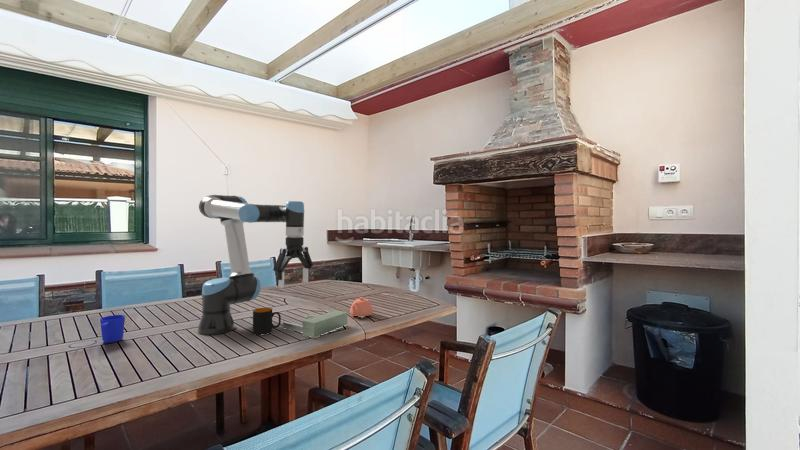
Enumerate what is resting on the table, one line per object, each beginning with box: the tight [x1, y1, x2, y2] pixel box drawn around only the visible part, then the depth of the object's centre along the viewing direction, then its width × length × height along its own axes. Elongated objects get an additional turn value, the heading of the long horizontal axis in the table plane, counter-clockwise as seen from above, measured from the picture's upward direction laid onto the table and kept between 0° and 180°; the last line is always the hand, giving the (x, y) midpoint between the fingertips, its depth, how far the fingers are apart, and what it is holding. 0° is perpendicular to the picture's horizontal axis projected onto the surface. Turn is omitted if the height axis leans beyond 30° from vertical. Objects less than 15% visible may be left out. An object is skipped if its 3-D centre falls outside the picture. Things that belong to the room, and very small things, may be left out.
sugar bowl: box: [349, 296, 374, 317], centre depth 195 cm, size 12×14×10 cm
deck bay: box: [282, 309, 348, 337], centre depth 174 cm, size 23×22×7 cm
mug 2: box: [252, 307, 282, 336], centre depth 167 cm, size 8×12×10 cm
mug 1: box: [99, 314, 126, 344], centre depth 152 cm, size 8×12×10 cm
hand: (293, 285), depth 160 cm, fingers open, 13 cm apart
